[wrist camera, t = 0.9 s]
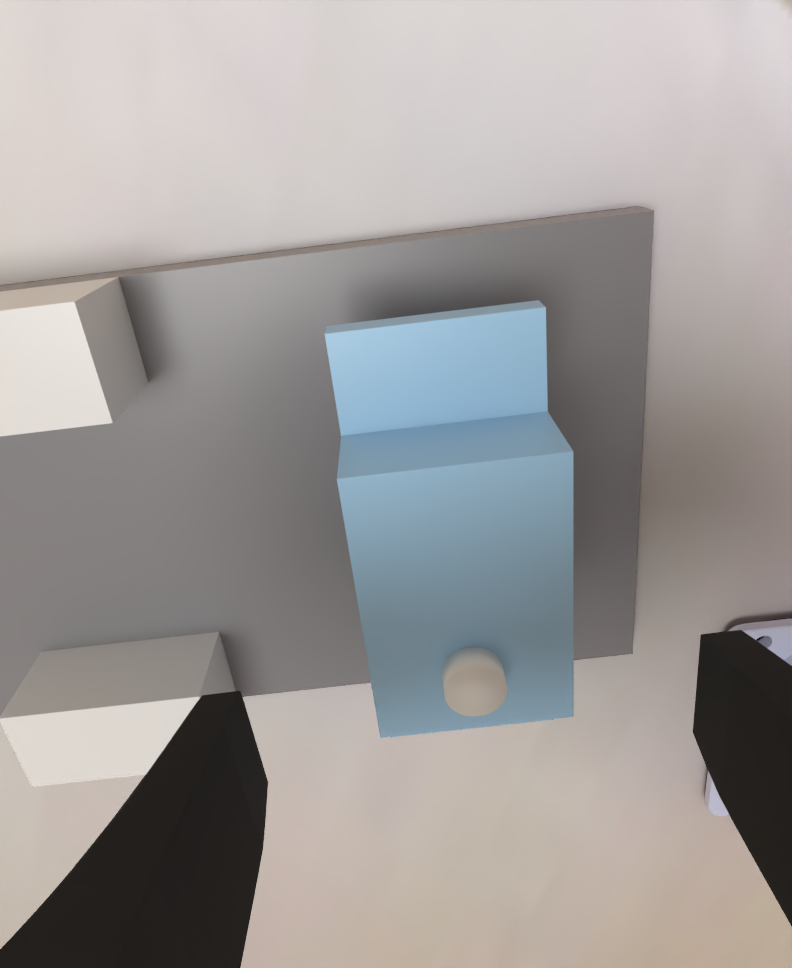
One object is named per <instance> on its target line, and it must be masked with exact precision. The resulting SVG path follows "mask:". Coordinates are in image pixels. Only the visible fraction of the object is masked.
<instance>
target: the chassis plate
mask: <svg viewBox="0 0 792 968" xmlns="http://www.w3.org/2000/svg"><path fill="white" fill-rule="evenodd" d="M653 216H654V211H653V210H649V209H646V208H642V207H638V206H637V207H629V208H621V209H613V210H605V211H597V212H589V213H581V214H573V215H564V216H556V217H548V218H540V219H532V220H524V221H516V222H508V223H500V224H492V225H484V226H476V227H468V228H460V229H452V230H444V231H436V232H427V233H419V234H411V235H403V236H395V237H387V238H379V239H371V240H363V241H355V242H347V243H339V244H331V245H323V246H315V247H307V248H299V249H290V250H282V251H274V252H266V253H258V254H250V255H242V256H234V257H226V258H218V259H210V260H202V261H194V262H186V263H178V264H170V265H162V266H153V267H145V268H137V269H129V270H121V271H113V272H105V273H97V274H89V275H81V276H73V277H65V278H57V279H49V280H41V281H33V282H25V283H16V284H8V285H0V723H1V725H2V727H3V729H4V731H5V733H6V735H7V737H8V739H9V741H10V744H11V746H12V748H13V750H14V752H15V754H16V756H17V758H18V760H19V762H20V764H21V766H22V768H23V770H24V772H25V774H26V776H27V778H28V780H29V782H30V784H31V786H32V787H35V786H44V785H53V784H62V783H72V782H81V781H90V780H99V779H109V778H118V777H127V776H136V775H146V774H147V772H148V771H149V769H150V768H151V767H152V765H153V764H154V762H155V761H156V760H157V758H158V757H159V755H160V754H161V753H162V751H163V750H164V748H165V747H166V745H167V744H168V743H169V741H170V740H171V738H172V737H173V735H174V734H175V733H176V731H177V730H178V728H179V727H180V725H181V724H182V723H183V721H184V720H185V718H186V717H187V715H188V714H189V712H190V711H191V710H192V708H193V707H194V705H195V704H196V703H197V701H198V700H199V699H200V698H201V696H202V695H209V694H217V693H225V692H234V691H241V694H242V697H244V696H253V695H262V694H271V693H280V692H289V691H298V690H307V689H316V688H326V687H335V686H344V685H353V684H362V683H371V678H370V673H369V667H368V661H367V655H366V649H365V643H364V637H363V631H362V625H361V619H360V613H359V607H358V602H357V596H356V590H355V584H354V578H353V572H352V566H351V560H350V554H349V548H348V542H347V536H346V531H345V525H344V519H343V513H342V507H341V501H340V495H339V489H338V483H337V472H338V462H339V452H340V441H341V432H340V426H339V420H338V414H337V408H336V401H335V395H334V389H333V383H332V377H331V370H330V364H329V358H328V352H327V346H326V339H325V330H326V326H330V325H339V324H347V323H355V322H363V321H371V320H380V319H388V318H396V317H404V316H413V315H421V314H429V313H437V312H445V311H454V310H462V309H470V308H478V307H487V306H495V305H503V304H511V303H519V302H528V301H536V300H539V301H540V302H541V303H542V304H543V305H544V306H545V307H546V342H547V398H548V413H549V414H550V416H551V417H552V419H553V420H554V422H555V424H556V425H557V427H558V428H559V430H560V431H561V433H562V434H563V436H564V438H565V439H566V441H567V442H568V444H569V445H570V447H571V448H572V450H573V660H579V659H588V658H597V657H606V656H616V655H625V654H633V636H634V615H635V594H636V573H637V552H638V531H639V510H640V489H641V468H642V447H643V426H644V405H645V384H646V363H647V342H648V321H649V300H650V279H651V258H652V237H653Z"/></svg>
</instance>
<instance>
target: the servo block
mask: <svg viewBox="0 0 792 968" xmlns="http://www.w3.org/2000/svg"><path fill="white" fill-rule="evenodd" d="M325 339H326V346H327V352H328V358H329V364H330V370H331V377H332V383H333V389H334V395H335V401H336V408H337V414H338V420H339V426H340V432H341V441H340V452H339V462H338V472H337V483H338V489H339V495H340V501H341V507H342V513H343V519H344V525H345V531H346V536H347V542H348V548H349V554H350V560H351V566H352V572H353V578H354V584H355V590H356V596H357V602H358V607H359V613H360V619H361V625H362V631H363V637H364V643H365V649H366V655H367V661H368V667H369V673H370V678H371V684H372V690H373V696H374V702H375V708H376V714H377V720H378V726H379V732H380V738H381V737H397V736H406V735H415V734H425V733H434V732H443V731H452V730H461V729H471V728H480V727H489V726H498V725H507V724H517V723H526V722H535V721H544V720H553V719H555V718H565V717H573V450H572V448H571V447H570V445H569V444H568V442H567V441H566V439H565V438H564V436H563V434H562V433H561V431H560V430H559V428H558V427H557V425H556V424H555V422H554V420H553V419H552V417H551V416H550V414H549V413H548V398H547V342H546V307H545V306H544V305H543V304H542V303H541V302H540V301H539V300H536V301H528V302H519V303H511V304H503V305H495V306H487V307H478V308H470V309H462V310H454V311H445V312H437V313H429V314H421V315H413V316H404V317H396V318H388V319H380V320H371V321H363V322H355V323H347V324H339V325H330V326H326V330H325Z"/></svg>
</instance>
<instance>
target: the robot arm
mask: <svg viewBox="0 0 792 968" xmlns="http://www.w3.org/2000/svg"><path fill="white" fill-rule="evenodd" d="M762 636H764V637H763V638H762V639H761V640H758V641H756V640H757V639H758V638H759V637H762ZM693 734H694V736H695V739H696V741H697V744H698V746H699V749H700V751H701V754H702V756H703V759H704V761H705V764H706V766H707V769H708V775H707V783H706V791H705V804H706V806H707V808H708V810H709V812H710V813H711V814H713V815H716V816H727V815H730V817H731V819H732V820H733V822H734V824H735V826H736V828H737V829H738V831H739V833H740V835H741V837H742V838H743V840H744V842H745V844H746V846H747V848H748V849H749V851H750V853H751V855H752V856H753V858H754V860H755V862H756V864H757V865H758V867H759V869H760V871H761V872H762V874H763V876H764V878H765V880H766V881H767V883H768V885H769V887H770V888H771V890H772V892H773V894H774V896H775V897H776V899H777V901H778V903H779V905H780V906H781V908H782V910H783V912H784V913H785V915H786V917H787V919H788V921H789V922H790V924H791V926H792V618H790V619H781V620H772V621H763V622H754V623H745V624H740V625H736V626H734V627H732V628H731V629H730V630H729V631H726V632H718V633H710V634H702V635H701V640H700V652H699V665H698V677H697V689H696V701H695V713H694V725H693ZM267 787H268V781H267V778H266V774H265V771H264V768H263V764H262V761H261V758H260V754H259V751H258V748H257V744H256V741H255V738H254V734H253V731H252V728H251V724H250V721H249V718H248V714H247V711H246V708H245V704H244V701H243V698H242V694H241V691H234V692H225V693H217V694H209V695H202V696H201V698H200V699H199V700H198V701H197V703H196V704H195V705H194V707H193V708H192V710H191V711H190V712H189V714H188V715H187V717H186V718H185V720H184V721H183V723H182V724H181V725H180V727H179V728H178V730H177V731H176V733H175V734H174V735H173V737H172V738H171V740H170V741H169V743H168V744H167V745H166V747H165V748H164V750H163V751H162V753H161V754H160V755H159V757H158V758H157V760H156V761H155V762H154V764H153V765H152V767H151V768H150V769H149V771H148V772H147V774H146V775H145V776H144V778H143V779H142V780H141V782H140V783H139V784H138V786H137V787H136V788H135V790H134V791H133V792H132V794H131V795H130V797H129V798H128V799H127V801H126V802H125V803H124V805H123V806H122V807H121V809H120V810H119V811H118V813H117V814H116V815H115V817H114V818H113V819H112V820H111V822H110V823H109V824H108V826H107V827H106V828H105V829H104V831H103V832H102V833H101V834H100V836H99V837H98V838H97V839H96V840H95V842H94V843H93V844H92V845H91V847H90V848H89V849H88V850H87V852H86V853H85V854H84V855H83V857H82V858H81V859H80V860H79V862H78V863H77V864H76V865H75V866H74V868H73V869H72V870H71V871H70V873H69V874H68V875H67V876H66V877H65V878H64V880H63V881H62V882H61V883H60V884H59V885H58V887H57V888H56V889H55V890H54V891H53V892H52V894H51V895H50V896H49V897H48V898H47V899H46V900H45V902H44V903H43V904H42V905H41V906H40V907H39V908H38V909H37V911H36V912H35V913H34V914H33V915H32V916H31V917H30V918H29V919H28V920H27V921H26V923H25V924H24V925H23V926H22V927H21V928H20V929H19V930H18V931H17V932H16V933H15V934H14V936H13V937H12V938H11V939H10V940H9V941H8V942H7V943H6V944H5V945H4V946H3V947H2V948H1V949H0V968H240V966H241V961H242V956H243V951H244V946H245V941H246V935H247V930H248V925H249V920H250V915H251V909H252V904H253V899H254V894H255V888H256V883H257V878H258V872H259V867H260V861H261V856H262V850H263V841H264V829H265V817H266V802H267Z"/></svg>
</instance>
